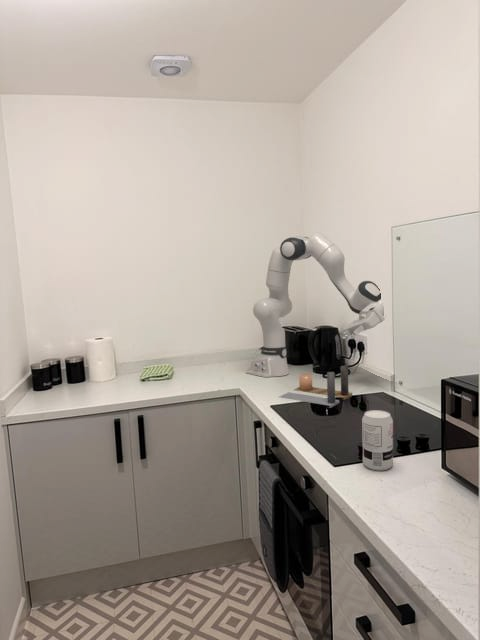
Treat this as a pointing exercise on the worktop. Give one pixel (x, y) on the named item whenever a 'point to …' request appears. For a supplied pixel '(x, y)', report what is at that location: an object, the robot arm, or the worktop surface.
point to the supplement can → (377, 440)
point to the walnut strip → (342, 393)
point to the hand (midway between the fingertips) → (348, 335)
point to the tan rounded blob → (305, 382)
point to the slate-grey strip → (318, 400)
